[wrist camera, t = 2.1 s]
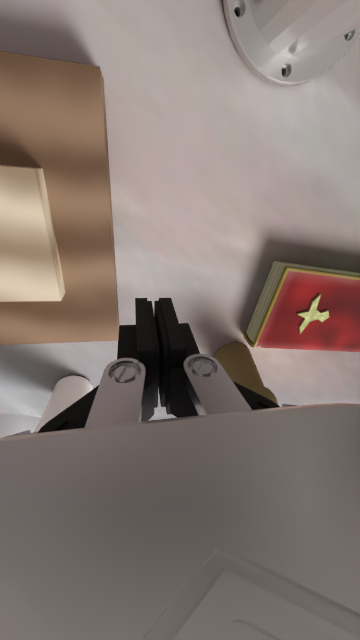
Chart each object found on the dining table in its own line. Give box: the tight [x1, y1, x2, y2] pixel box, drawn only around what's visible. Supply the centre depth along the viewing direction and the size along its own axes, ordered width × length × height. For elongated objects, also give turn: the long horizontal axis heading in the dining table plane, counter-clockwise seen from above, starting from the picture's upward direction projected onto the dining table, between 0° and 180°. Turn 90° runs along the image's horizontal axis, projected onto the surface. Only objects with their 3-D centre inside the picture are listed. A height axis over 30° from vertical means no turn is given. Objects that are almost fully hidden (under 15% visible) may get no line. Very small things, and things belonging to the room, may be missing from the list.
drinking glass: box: [35, 376, 93, 432], centre depth 30 cm, size 7×7×15 cm
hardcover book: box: [243, 261, 360, 352], centre depth 35 cm, size 12×21×4 cm, turn 79°
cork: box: [214, 342, 278, 405], centre depth 34 cm, size 6×6×11 cm
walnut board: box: [0, 51, 119, 345], centre depth 23 cm, size 24×16×3 cm, turn 175°
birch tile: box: [0, 165, 66, 302], centre depth 21 cm, size 11×8×2 cm
